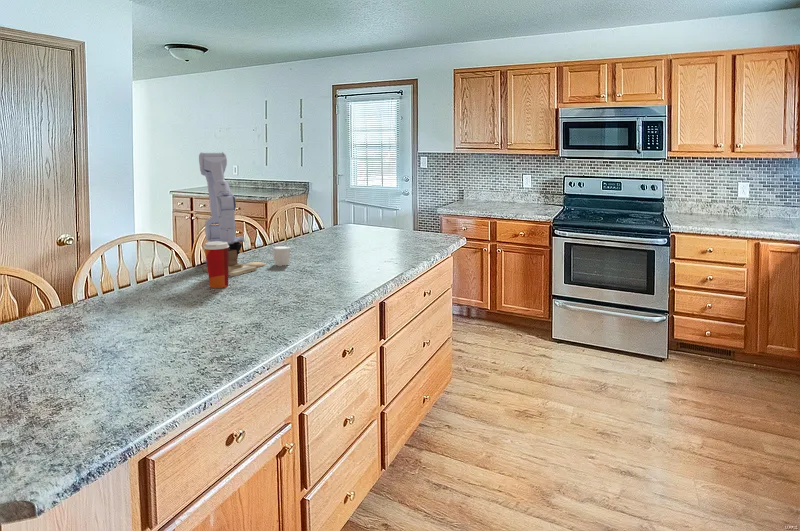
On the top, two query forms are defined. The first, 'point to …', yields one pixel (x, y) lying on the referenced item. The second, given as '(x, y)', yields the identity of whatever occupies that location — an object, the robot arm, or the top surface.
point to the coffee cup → (217, 263)
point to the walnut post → (232, 257)
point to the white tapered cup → (281, 255)
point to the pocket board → (237, 269)
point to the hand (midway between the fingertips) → (229, 263)
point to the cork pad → (255, 264)
